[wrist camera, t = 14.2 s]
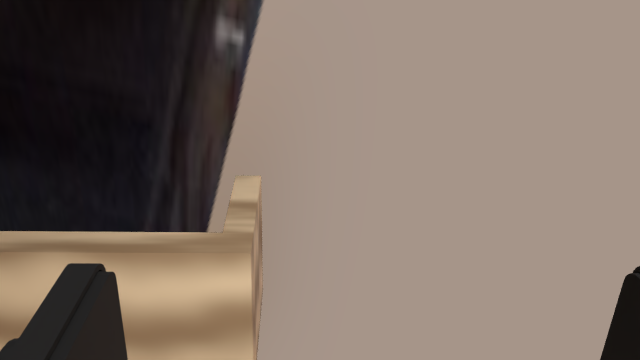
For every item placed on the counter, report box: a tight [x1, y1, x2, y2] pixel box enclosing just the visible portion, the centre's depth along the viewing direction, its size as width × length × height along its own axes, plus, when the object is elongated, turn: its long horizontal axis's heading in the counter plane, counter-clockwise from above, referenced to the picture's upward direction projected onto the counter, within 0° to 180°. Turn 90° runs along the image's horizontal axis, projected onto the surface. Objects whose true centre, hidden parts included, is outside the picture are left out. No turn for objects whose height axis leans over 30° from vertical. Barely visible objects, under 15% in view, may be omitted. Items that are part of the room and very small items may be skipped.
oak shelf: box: [0, 176, 263, 360], centre depth 42 cm, size 11×21×12 cm, turn 88°
